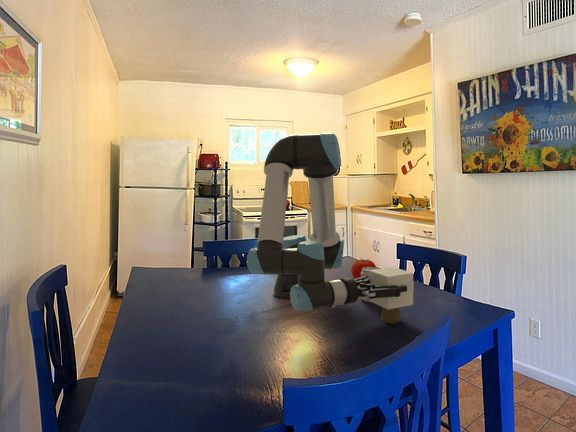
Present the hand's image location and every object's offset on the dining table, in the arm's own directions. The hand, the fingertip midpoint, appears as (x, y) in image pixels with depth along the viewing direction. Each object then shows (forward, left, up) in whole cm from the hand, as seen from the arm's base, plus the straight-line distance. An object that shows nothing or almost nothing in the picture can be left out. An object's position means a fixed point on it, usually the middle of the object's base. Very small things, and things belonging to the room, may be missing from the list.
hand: (401, 282), depth 116 cm
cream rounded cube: (0, -4, -6) cm, 7 cm away
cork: (0, -4, -12) cm, 13 cm away
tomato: (-41, +14, -12) cm, 45 cm away
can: (-19, +2, -12) cm, 23 cm away
